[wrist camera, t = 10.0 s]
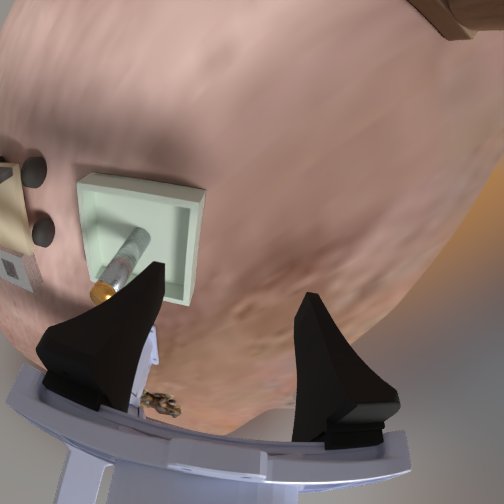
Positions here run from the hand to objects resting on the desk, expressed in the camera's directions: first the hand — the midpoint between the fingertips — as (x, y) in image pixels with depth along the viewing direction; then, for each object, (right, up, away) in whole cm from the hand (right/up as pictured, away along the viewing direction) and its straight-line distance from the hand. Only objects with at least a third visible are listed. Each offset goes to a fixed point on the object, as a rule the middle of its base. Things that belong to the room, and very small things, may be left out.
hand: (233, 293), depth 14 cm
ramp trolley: (-24, +8, +8) cm, 27 cm away
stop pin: (-9, +3, +10) cm, 14 cm away
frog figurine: (-17, -27, +33) cm, 46 cm away
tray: (-9, +4, +11) cm, 15 cm away
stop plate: (-31, +1, +14) cm, 35 cm away
